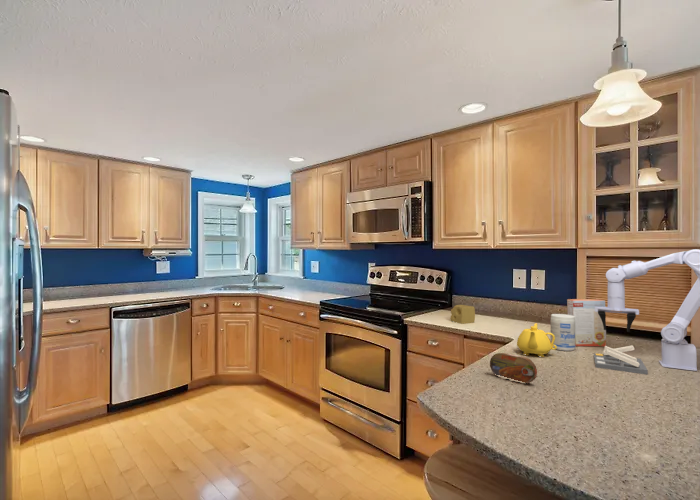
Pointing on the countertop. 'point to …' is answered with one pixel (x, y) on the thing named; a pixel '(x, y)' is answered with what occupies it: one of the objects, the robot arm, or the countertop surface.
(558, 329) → the supplement tub
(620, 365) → the switch base
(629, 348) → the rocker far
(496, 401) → the countertop surface
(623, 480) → the countertop surface
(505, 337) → the countertop surface
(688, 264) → the robot arm
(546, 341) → the teapot
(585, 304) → the cracker box
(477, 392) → the countertop surface
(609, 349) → the rocker middle
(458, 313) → the cheese
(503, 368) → the tin
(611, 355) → the rocker near
